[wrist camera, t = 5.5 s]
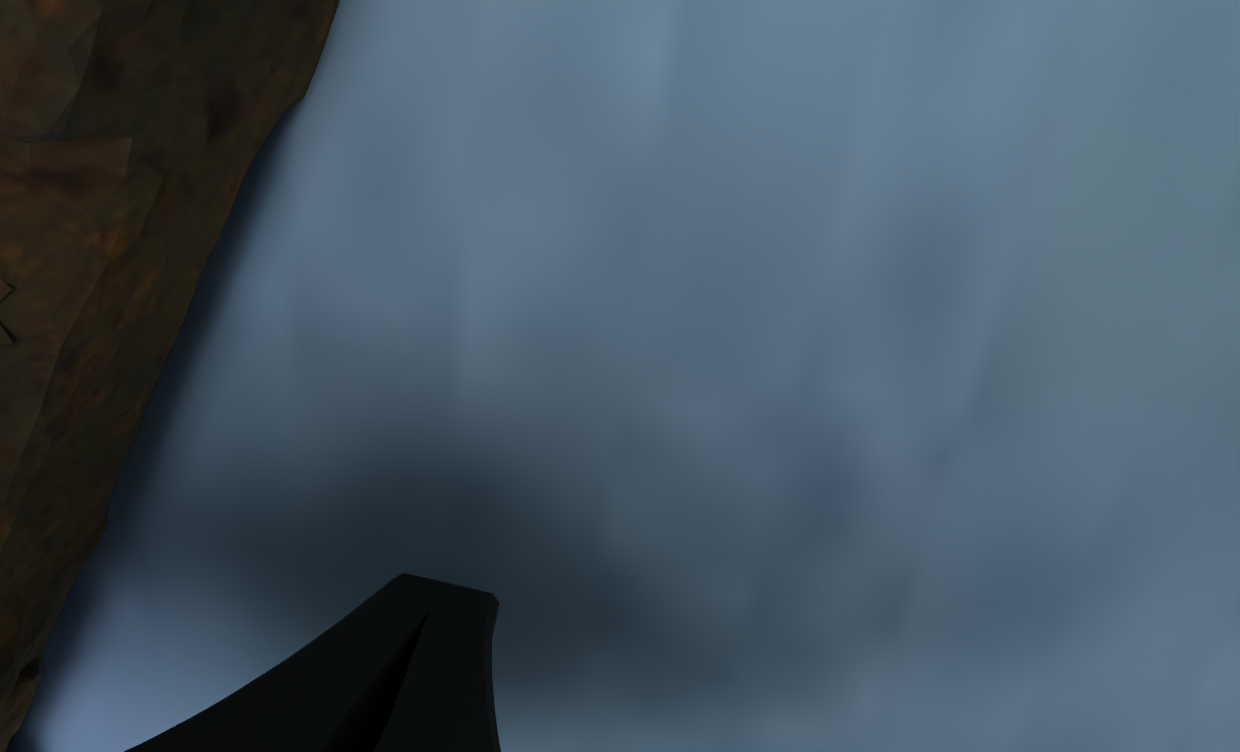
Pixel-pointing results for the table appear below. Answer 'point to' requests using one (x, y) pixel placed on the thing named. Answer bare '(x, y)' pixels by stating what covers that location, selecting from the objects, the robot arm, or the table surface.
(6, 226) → the dark brown rod
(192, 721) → the robot arm
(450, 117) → the table surface
